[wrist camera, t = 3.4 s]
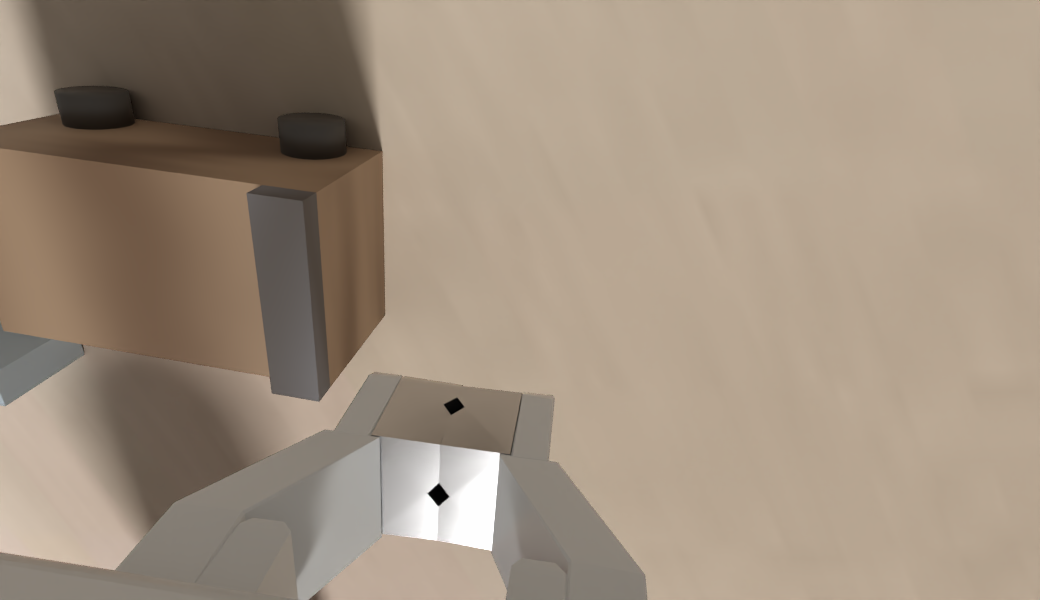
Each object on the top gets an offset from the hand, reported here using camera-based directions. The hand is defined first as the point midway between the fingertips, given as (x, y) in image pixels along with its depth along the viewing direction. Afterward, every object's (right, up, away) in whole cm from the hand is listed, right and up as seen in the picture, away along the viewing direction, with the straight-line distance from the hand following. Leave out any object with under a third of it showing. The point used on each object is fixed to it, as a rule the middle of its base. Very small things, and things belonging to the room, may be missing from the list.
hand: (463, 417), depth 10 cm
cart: (-7, +4, +8) cm, 12 cm away
